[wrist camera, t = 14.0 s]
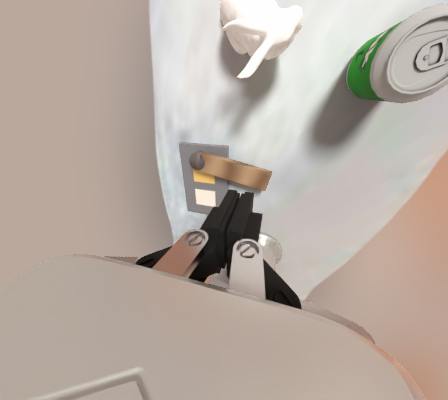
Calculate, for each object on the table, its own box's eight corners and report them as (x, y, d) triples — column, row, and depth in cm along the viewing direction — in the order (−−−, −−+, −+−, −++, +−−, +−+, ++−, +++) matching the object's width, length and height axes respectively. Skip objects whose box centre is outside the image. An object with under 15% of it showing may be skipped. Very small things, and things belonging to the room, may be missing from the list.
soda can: (406, 86, 26) (478, 85, 16) (345, 106, 29) (375, 115, 19) (410, 21, 23) (502, -28, 13) (341, 51, 26) (376, 29, 16)
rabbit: (306, 29, 26) (318, -5, 16) (261, 90, 31) (251, 92, 22) (242, -36, 25) (214, -117, 15) (207, 40, 30) (169, 17, 20)
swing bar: (271, 171, 36) (271, 175, 34) (266, 186, 38) (265, 191, 36) (193, 148, 38) (189, 151, 36) (192, 164, 40) (188, 167, 38)
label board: (227, 214, 47) (225, 220, 46) (189, 208, 50) (185, 213, 48) (228, 145, 38) (225, 149, 36) (181, 142, 41) (176, 145, 39)
